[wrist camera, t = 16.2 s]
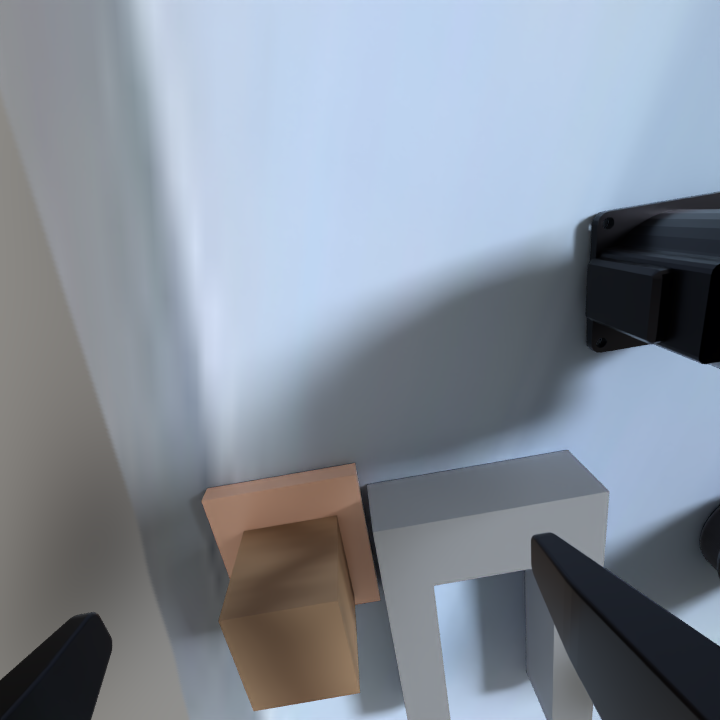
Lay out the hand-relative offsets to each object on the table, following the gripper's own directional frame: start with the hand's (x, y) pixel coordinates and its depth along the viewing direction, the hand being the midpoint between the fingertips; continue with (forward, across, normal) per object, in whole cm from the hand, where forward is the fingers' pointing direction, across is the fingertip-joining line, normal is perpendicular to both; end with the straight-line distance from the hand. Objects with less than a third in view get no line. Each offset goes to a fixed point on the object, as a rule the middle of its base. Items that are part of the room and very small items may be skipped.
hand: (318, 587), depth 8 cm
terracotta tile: (+12, +4, +10) cm, 16 cm away
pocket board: (+12, -6, +16) cm, 21 cm away
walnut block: (+11, +3, +11) cm, 16 cm away
